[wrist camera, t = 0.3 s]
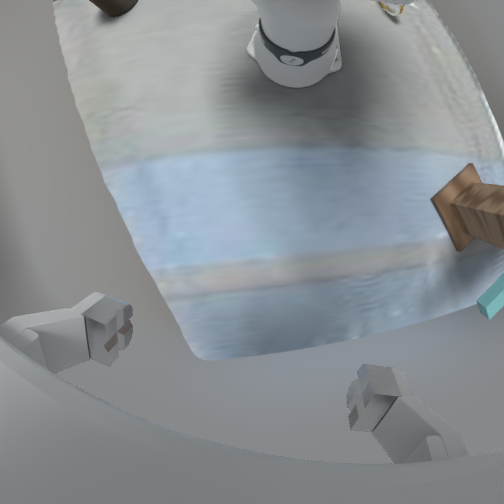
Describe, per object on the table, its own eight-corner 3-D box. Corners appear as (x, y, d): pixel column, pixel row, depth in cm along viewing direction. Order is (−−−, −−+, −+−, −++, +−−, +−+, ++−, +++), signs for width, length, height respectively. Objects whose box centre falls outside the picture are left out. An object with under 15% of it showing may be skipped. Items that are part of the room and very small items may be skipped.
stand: (451, 255, 53) (524, 299, 28) (424, 204, 51) (504, 226, 26) (496, 209, 49) (572, 231, 24) (473, 158, 47) (555, 159, 22)
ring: (398, 20, 41) (410, 4, 33) (387, 21, 42) (399, 5, 34) (382, -3, 40) (392, -20, 32) (371, -1, 40) (380, -19, 33)
